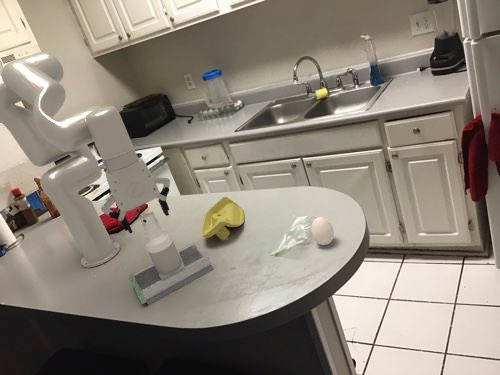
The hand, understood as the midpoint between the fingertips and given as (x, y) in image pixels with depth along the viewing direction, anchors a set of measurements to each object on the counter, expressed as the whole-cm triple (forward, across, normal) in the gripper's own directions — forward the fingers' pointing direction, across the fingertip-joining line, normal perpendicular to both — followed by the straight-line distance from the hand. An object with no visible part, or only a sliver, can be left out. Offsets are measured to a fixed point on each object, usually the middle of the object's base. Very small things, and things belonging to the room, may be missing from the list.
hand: (148, 222), depth 107 cm
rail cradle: (+17, 0, -1) cm, 17 cm away
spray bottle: (+16, 0, -1) cm, 16 cm away
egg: (+16, +34, -22) cm, 44 cm away
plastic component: (+17, +20, +10) cm, 28 cm away
